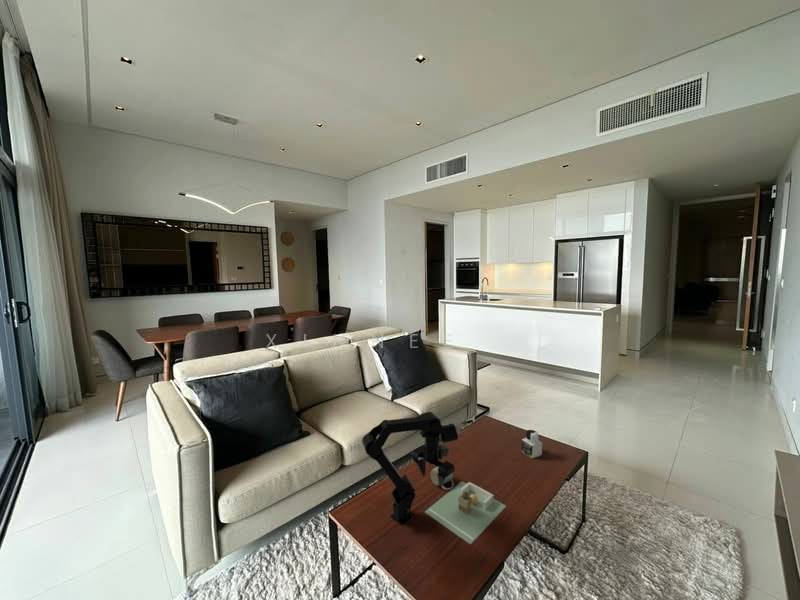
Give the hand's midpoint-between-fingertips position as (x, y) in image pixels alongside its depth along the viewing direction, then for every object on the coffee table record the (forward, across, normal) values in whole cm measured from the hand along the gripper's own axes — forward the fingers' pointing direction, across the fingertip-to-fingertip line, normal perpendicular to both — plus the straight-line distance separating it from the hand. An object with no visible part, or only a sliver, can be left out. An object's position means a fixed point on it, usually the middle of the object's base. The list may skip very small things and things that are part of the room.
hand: (432, 480), depth 134 cm
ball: (+10, -10, -14) cm, 20 cm away
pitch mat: (+12, -10, -9) cm, 18 cm away
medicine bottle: (+13, -12, -66) cm, 68 cm away
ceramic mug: (+13, +6, -15) cm, 21 cm away
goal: (+12, -10, -17) cm, 23 cm away
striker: (+12, -10, -9) cm, 18 cm away
